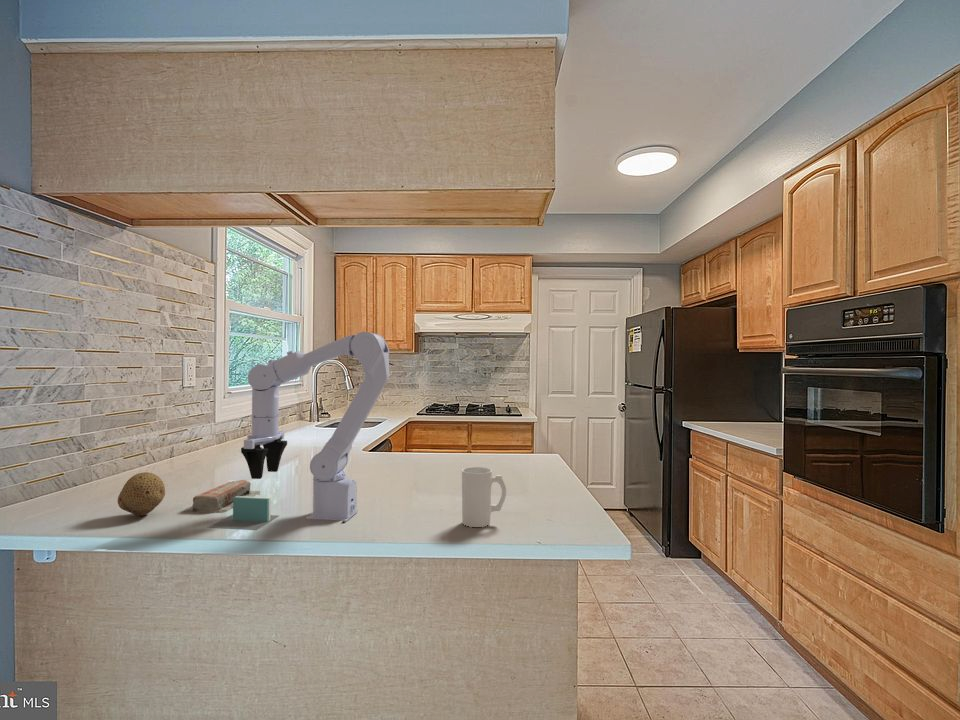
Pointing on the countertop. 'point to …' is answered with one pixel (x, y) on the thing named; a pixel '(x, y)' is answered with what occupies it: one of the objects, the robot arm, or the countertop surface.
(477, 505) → the mug
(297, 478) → the countertop surface
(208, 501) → the old brick
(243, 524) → the mat
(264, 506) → the tile
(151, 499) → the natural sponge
